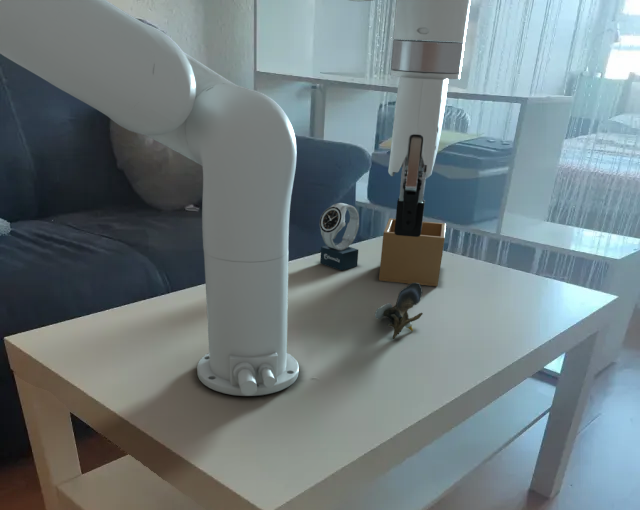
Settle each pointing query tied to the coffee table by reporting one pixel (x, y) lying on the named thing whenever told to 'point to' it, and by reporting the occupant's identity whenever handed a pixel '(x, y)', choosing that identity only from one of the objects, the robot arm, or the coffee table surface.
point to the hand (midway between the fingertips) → (407, 233)
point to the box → (412, 255)
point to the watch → (340, 252)
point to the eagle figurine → (401, 308)
